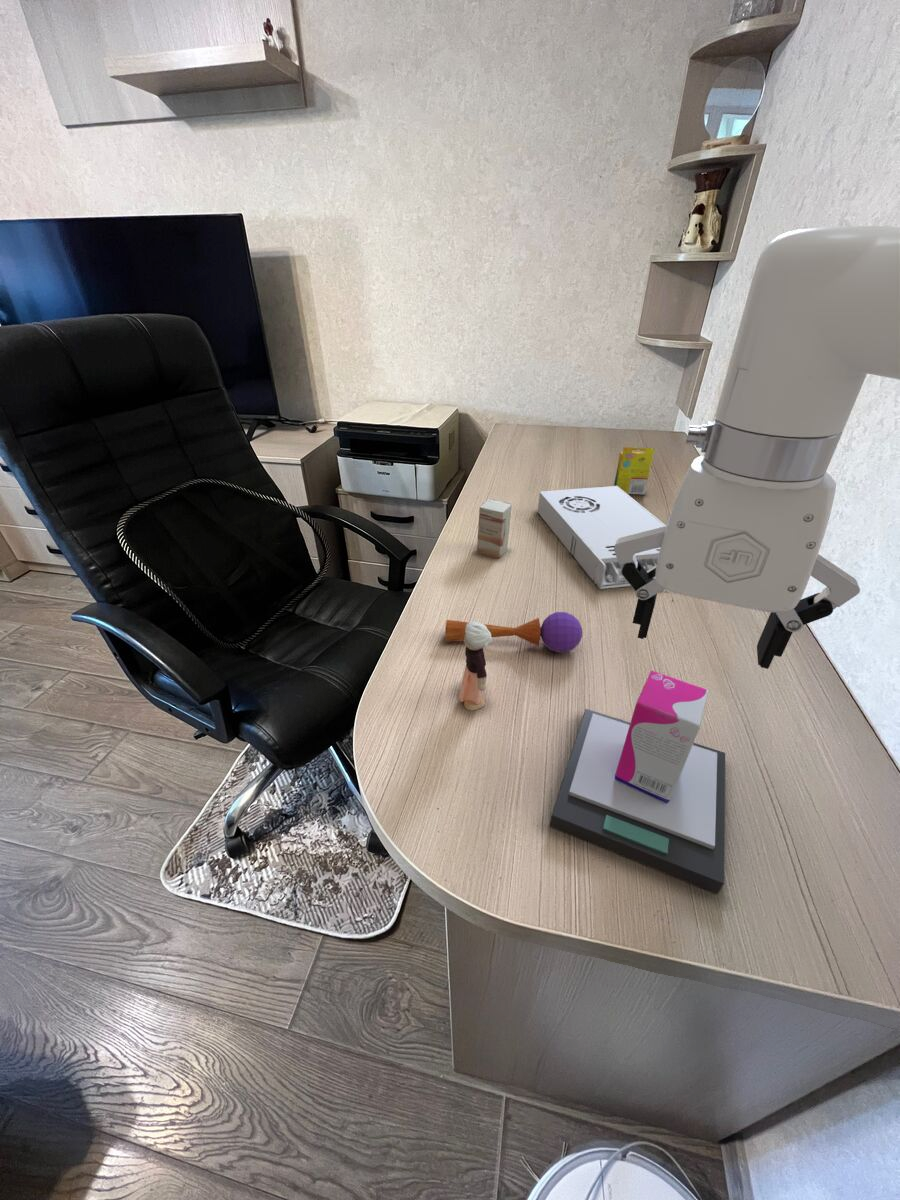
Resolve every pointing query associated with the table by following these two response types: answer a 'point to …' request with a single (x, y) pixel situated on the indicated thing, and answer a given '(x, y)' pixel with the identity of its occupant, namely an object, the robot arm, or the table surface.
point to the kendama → (531, 631)
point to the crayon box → (633, 470)
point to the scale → (645, 807)
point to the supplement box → (661, 735)
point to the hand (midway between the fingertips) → (700, 643)
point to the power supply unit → (598, 528)
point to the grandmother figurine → (474, 665)
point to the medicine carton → (493, 528)
